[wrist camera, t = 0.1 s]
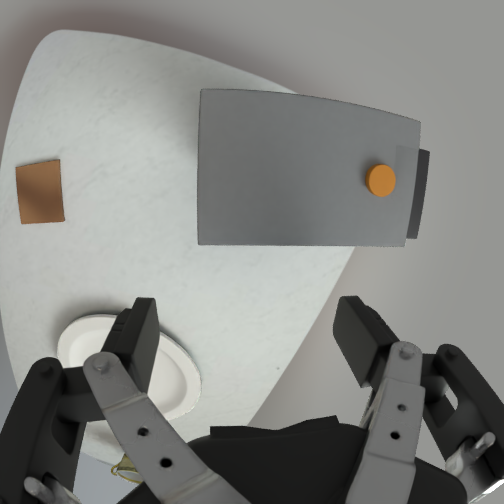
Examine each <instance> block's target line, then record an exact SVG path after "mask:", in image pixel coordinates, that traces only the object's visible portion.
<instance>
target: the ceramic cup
mask: <svg viewBox="0 0 504 504" xmlns="http://www.w3.org/2000/svg"><path fill="white" fill-rule="evenodd" d="M117 466H118V468H117V471H116V473H113V469H114V468H115V467H117ZM111 473H112V474H114V475H117V476H119V477H120V478H122V479H123V480H126V481H128V482H131V483H134V484H140V483H141V482H143V481H144V480H143V479H142V477H141V476H140V474H139V473H138V471H137V470H136V468H135V467H134V465H133V464H132V462H131V461H130V459H129V458H128V456H127V455H126V453H125V454H124V456H123V458H122V460H121V462H120V463H118V464H117V465H115V466H113V467H112V469H111Z"/></svg>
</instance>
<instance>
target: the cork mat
mask: <svg viewBox="0 0 504 504" xmlns="http://www.w3.org/2000/svg"><path fill="white" fill-rule="evenodd" d="M16 182H17V194H18V203H19V211H20V218H21V224H32V223H50V222H63V221H65V219H64V210H63V201H62V189H61V174H60V160H53V161H47V162H42V163H36V164H31V165H26V166H21V167H16Z"/></svg>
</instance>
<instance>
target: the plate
mask: <svg viewBox="0 0 504 504" xmlns="http://www.w3.org/2000/svg"><path fill="white" fill-rule="evenodd" d="M116 317H117V316H116V315H108V314H95V315H89V316H84V317H82V318H79V319H77V320H75V321H73V322H72V323H71V324H69V325H68V326H67V327H66V329H65V330H64V331H63V332H62V334H61V336H60V339H59V342H58V358H59V361H60V362H61V364H62V366H63V368H70V367H79V366H83V364H84V362H85V360H86V359H87V358H88V357H89V356H91V355H92V354H95V353H98V352H100V351H101V349H102V346H103V344H104V342H105V340H106V338H107V336H108V334H109V332H110V331H111V327H112V325H113V324H114V321H115V319H116ZM200 394H201V378H200V374H199V371H198V369H197V367H196V365H195V363H194V361H193V360H192V359H191V357H190V356H189V354H188V353H187V352H186V351H185V350H184V349H183V348H182V347H181V346H180V345H179V344H177V343H176V342H175V341H174V340H172V339H171V338H170V337H168V336H167V335H165V334H163V333H162V332H160V340H159V345H158V349H157V353H156V357H155V362H154V366H153V370H152V375H151V379H150V384H149V389H148V394H147V395H148V396H149V398H150V399H151V400H152V402H153V403H154V405H155V406H156V407H157V408H158V410H159V411H160V412H161V414H162V415H163V416H164V418H165V419H166V420H167V421H168V420H172V419H175V418H178V417H180V416H182V415H184V414H186V413H187V412H189V411H190V410H191V409H192V408H193V407H194V406H195V405H196V403H197V401H198V400H199V398H200Z"/></svg>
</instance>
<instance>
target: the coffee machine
mask: <svg viewBox="0 0 504 504" xmlns="http://www.w3.org/2000/svg"><path fill="white" fill-rule="evenodd" d="M420 129H421V122H420V121H417V120H414V119H411V118H408V117H404V116H401V115H397V114H393V113H390V112H386V111H382V110H379V109H375V108H370V107H366V106H361V105H357V104H352V103H347V102H342V101H337V100H331V99H326V98H319V97H313V96H306V95H299V94H291V93H281V92H271V91H258V90H241V89H201V91H200V107H199V131H198V169H197V230H198V245H271V246H377V247H378V246H380V247H382V246H383V247H404V246H405V243H406V238H408V239H416V238H417V235H418V230H419V225H420V220H421V214H422V209H423V202H424V196H425V190H426V182H427V174H428V165H429V154H430V152H429V151H426V150H423V149H419V146H420V131H421V130H420Z"/></svg>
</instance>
